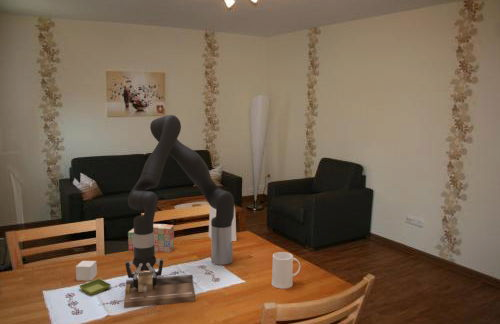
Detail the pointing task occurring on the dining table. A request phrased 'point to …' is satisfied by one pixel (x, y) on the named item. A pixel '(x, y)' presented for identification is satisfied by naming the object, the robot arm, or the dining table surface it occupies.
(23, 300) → the dining table surface
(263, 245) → the dining table surface
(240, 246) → the dining table surface
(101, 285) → the green square dish
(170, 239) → the stack of blocks
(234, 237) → the milk
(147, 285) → the gauge
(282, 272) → the mug
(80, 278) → the white cube
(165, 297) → the tray
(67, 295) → the dining table surface
